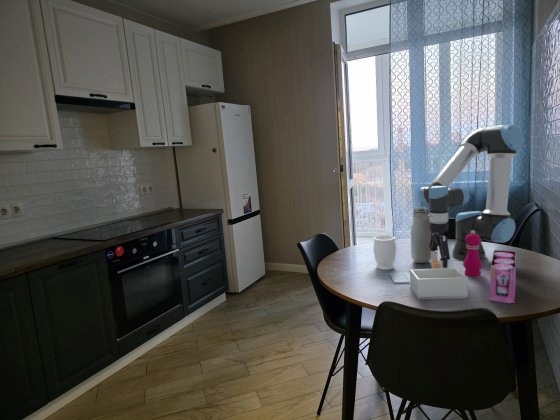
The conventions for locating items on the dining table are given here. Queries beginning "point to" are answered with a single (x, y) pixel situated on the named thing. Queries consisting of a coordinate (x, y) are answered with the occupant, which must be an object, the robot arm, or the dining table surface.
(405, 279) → the lid
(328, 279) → the dining table surface
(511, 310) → the dining table surface
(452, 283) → the cabinet body
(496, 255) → the gum box
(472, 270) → the pepper mill
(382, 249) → the jar
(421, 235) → the grey rounded cylinder
